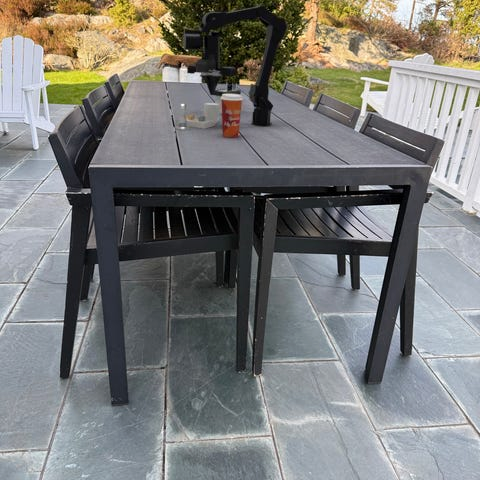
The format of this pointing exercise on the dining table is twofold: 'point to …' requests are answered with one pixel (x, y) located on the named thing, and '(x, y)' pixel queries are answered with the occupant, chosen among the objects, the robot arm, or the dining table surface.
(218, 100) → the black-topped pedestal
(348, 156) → the dining table surface
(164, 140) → the dining table surface
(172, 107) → the dining table surface
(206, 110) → the grey cylinder
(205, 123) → the panel
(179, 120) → the post
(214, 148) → the dining table surface
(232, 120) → the paper cup
